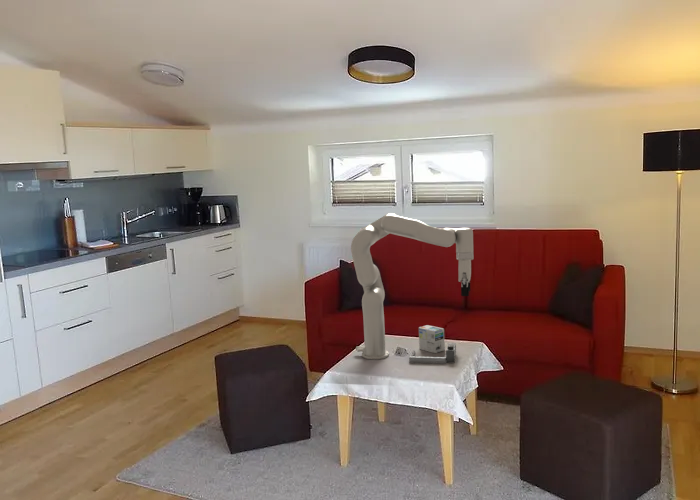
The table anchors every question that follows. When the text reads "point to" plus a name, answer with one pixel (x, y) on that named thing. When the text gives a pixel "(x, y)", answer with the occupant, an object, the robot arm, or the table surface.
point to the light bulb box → (431, 339)
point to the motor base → (448, 357)
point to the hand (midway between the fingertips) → (465, 293)
